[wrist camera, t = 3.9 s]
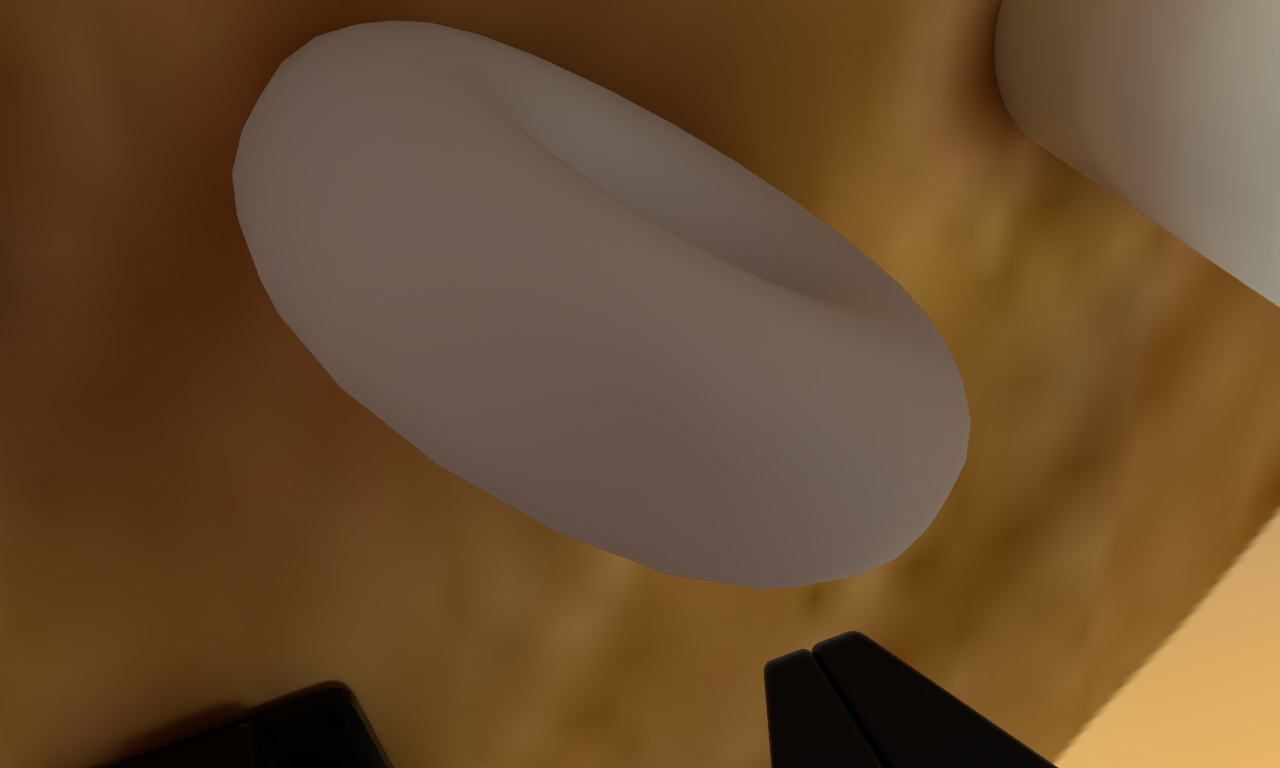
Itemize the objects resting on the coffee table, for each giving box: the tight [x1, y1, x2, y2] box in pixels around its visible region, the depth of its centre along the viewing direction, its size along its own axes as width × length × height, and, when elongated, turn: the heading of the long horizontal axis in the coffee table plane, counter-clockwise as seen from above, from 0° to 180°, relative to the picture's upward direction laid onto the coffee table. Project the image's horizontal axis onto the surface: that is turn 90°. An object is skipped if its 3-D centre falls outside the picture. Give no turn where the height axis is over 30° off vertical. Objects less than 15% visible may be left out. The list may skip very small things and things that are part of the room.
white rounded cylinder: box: [994, 0, 1280, 307], centre depth 19 cm, size 6×6×7 cm
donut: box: [232, 20, 971, 589], centre depth 16 cm, size 10×4×10 cm, turn 59°
